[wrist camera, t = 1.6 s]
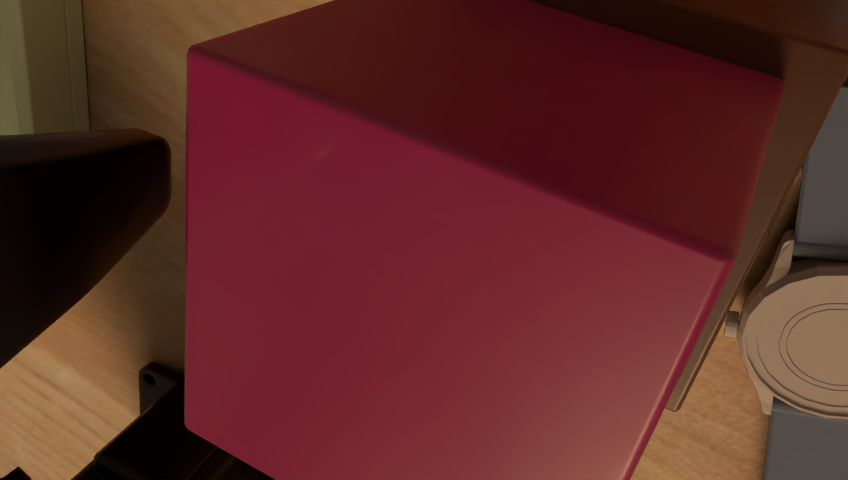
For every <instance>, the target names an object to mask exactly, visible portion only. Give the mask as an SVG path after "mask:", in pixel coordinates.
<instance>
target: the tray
mask: <svg viewBox="0 0 848 480" xmlns="http://www.w3.org/2000/svg"><path fill="white" fill-rule="evenodd" d="M75 131H90V128H89V112H88V97H87V81H86V65H85V50H84V34H83V19H82V3H81V0H0V135H18V134H37V133H56V132H75Z"/></svg>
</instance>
